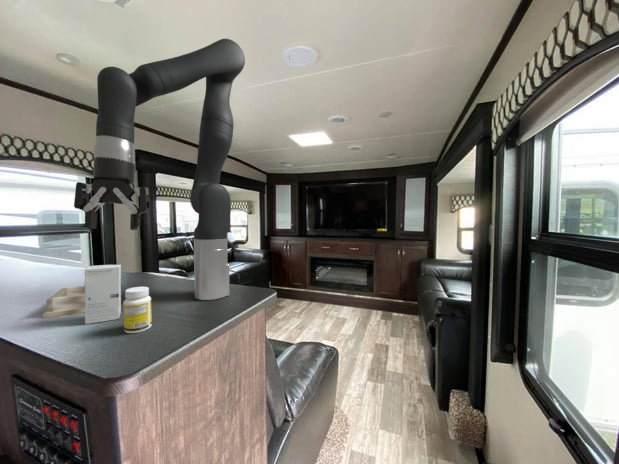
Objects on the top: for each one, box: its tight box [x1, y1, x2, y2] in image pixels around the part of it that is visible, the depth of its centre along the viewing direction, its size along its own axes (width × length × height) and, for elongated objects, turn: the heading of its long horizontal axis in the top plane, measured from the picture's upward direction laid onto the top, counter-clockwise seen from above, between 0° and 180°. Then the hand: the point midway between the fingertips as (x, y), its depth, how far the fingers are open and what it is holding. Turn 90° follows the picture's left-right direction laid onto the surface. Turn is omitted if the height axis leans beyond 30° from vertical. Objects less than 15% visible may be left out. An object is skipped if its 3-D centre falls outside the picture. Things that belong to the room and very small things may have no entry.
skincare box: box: [84, 263, 122, 325], centre depth 56 cm, size 6×4×12 cm
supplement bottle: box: [122, 286, 153, 334], centre depth 51 cm, size 5×5×8 cm
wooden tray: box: [42, 285, 85, 319], centre depth 64 cm, size 12×12×4 cm
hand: (113, 229), depth 57 cm, fingers open, 8 cm apart
